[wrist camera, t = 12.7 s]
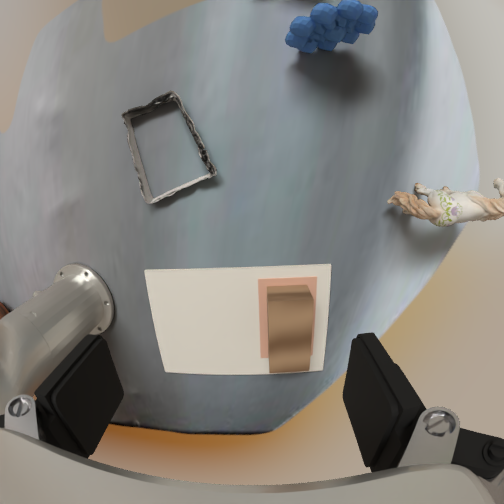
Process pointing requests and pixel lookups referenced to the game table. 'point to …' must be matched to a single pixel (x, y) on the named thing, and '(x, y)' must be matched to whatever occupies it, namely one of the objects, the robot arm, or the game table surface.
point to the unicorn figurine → (451, 205)
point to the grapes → (331, 25)
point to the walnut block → (289, 328)
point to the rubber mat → (228, 316)
